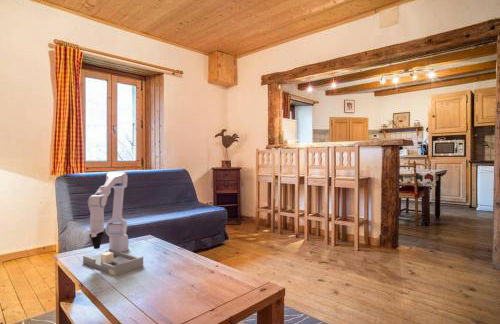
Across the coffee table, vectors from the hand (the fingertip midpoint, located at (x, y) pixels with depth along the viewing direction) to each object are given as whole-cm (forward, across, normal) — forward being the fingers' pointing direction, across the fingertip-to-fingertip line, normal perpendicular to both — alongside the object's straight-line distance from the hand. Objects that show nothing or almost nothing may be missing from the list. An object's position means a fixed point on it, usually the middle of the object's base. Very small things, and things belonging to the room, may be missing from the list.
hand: (96, 248), depth 138 cm
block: (+7, +1, +5) cm, 8 cm away
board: (+9, 0, +7) cm, 11 cm away
